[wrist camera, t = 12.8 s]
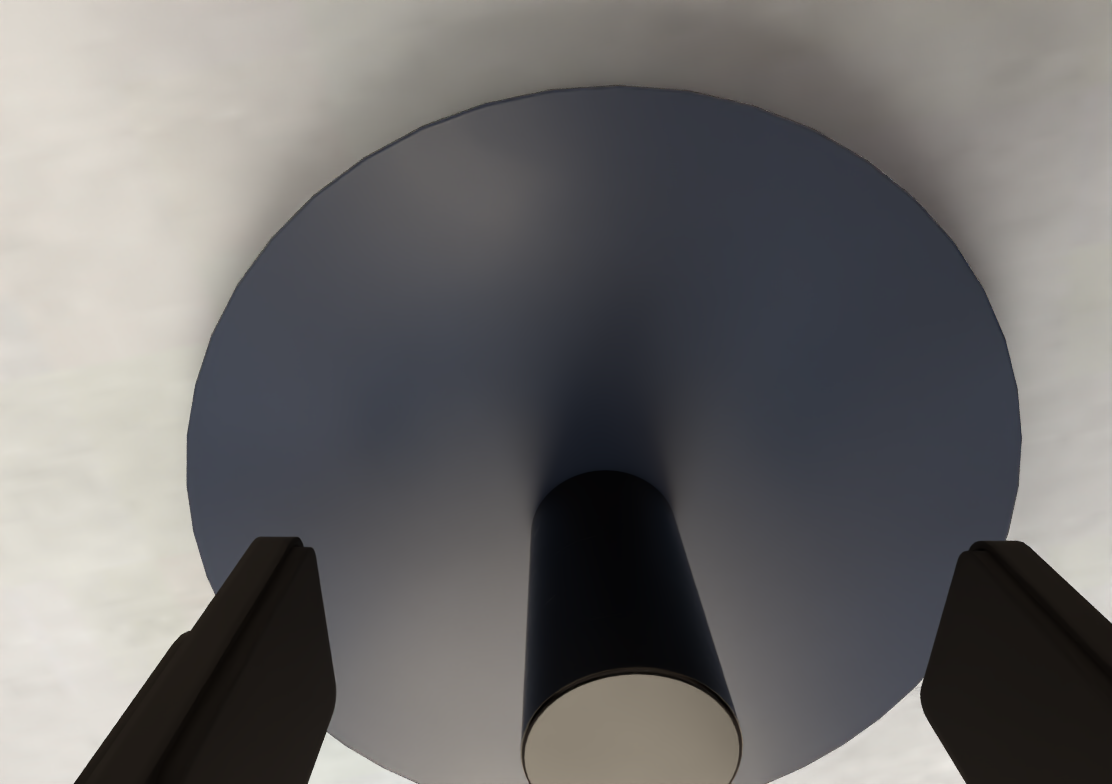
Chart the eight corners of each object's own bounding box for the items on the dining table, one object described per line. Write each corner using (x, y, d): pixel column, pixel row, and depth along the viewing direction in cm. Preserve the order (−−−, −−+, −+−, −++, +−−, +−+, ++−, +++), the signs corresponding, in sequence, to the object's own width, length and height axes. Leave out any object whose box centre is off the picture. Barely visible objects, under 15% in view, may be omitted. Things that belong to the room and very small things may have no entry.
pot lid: (133, 84, 11) (-295, 47, 6) (1088, 91, 11) (1623, 63, 6) (273, 777, 17) (136, 1105, 11) (903, 775, 17) (1076, 1098, 12)
